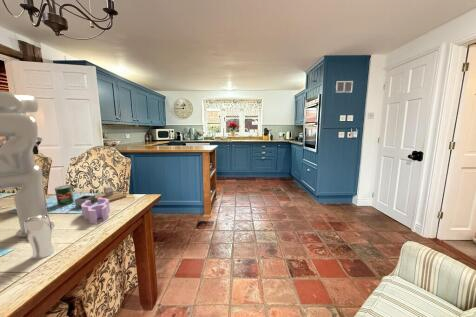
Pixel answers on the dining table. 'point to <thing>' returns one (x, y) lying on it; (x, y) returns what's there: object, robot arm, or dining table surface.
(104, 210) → the clip
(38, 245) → the beer glass
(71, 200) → the canned tomato
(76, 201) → the collar
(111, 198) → the dock
